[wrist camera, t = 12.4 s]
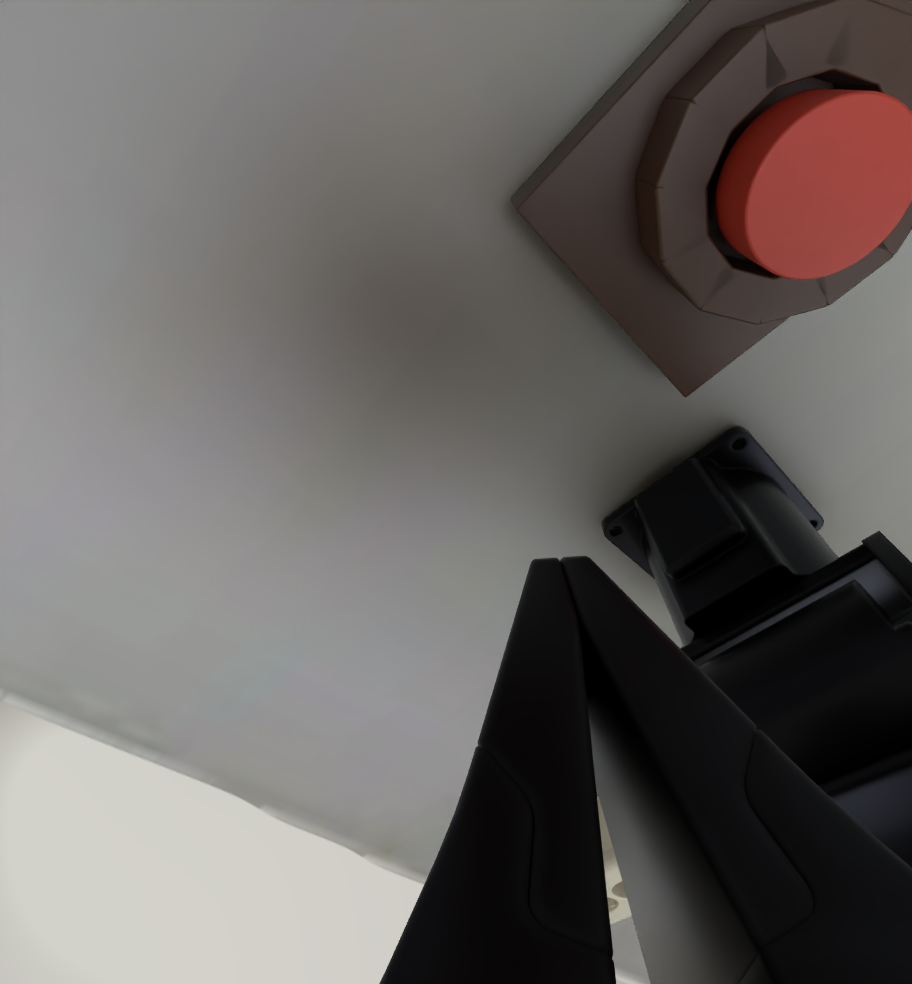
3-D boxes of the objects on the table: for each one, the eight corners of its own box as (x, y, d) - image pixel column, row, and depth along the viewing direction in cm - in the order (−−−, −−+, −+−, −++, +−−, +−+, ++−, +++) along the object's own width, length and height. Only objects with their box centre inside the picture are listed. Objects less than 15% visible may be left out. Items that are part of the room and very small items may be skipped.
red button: (900, 178, 14) (952, 190, 12) (761, 290, 15) (794, 312, 14) (830, 45, 12) (881, 41, 11) (684, 184, 14) (713, 197, 12)
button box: (976, 128, 16) (1093, 140, 13) (668, 375, 20) (706, 426, 17) (847, -173, 13) (966, -245, 10) (509, 198, 17) (523, 224, 14)
